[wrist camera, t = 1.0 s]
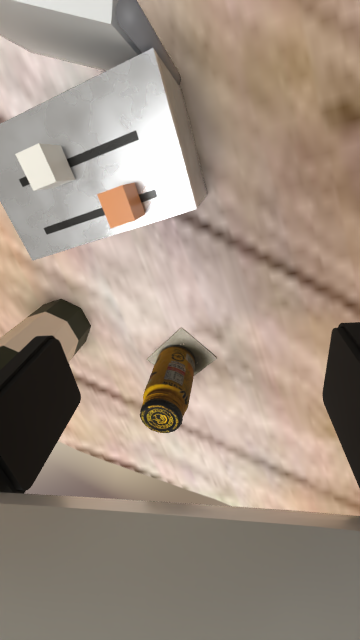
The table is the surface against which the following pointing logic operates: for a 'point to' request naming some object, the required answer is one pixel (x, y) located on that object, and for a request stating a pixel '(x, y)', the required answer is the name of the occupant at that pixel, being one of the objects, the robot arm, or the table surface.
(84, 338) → the wine bottle
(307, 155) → the table surface
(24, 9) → the door
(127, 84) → the white slider console
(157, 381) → the condiment
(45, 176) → the fader
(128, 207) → the fader
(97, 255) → the table surface
